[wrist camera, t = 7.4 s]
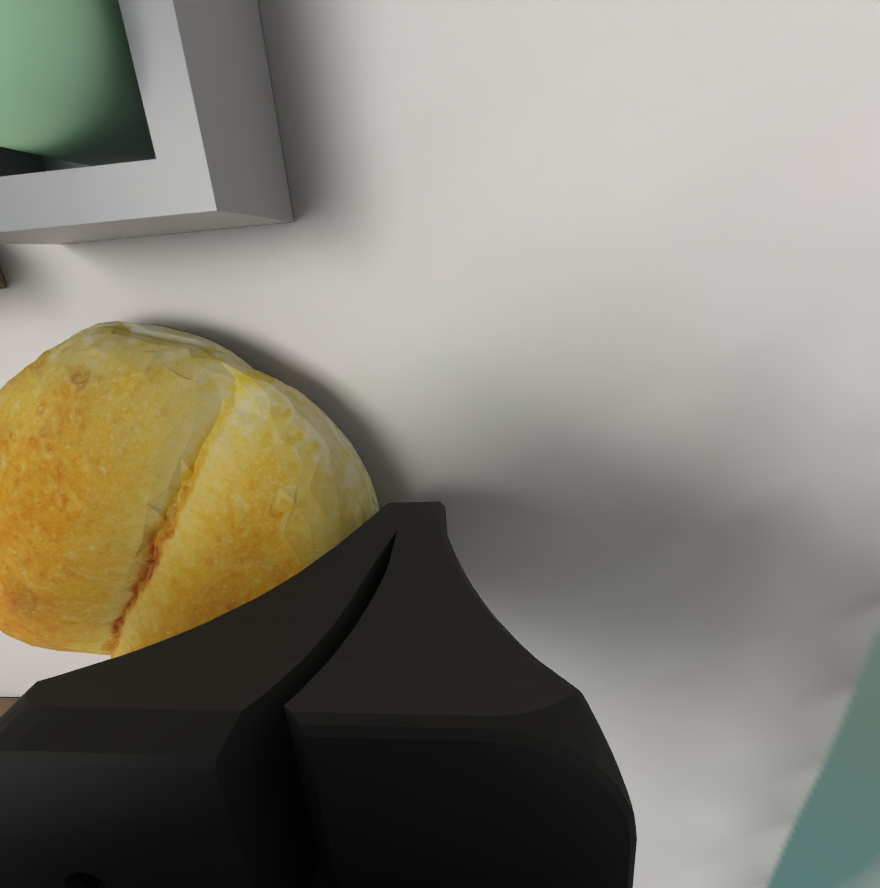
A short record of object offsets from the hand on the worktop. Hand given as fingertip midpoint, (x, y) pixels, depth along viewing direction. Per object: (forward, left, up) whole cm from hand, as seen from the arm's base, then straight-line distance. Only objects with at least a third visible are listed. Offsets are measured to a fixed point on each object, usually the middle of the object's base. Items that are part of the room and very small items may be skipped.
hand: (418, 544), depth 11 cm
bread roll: (0, +5, -2) cm, 6 cm away
